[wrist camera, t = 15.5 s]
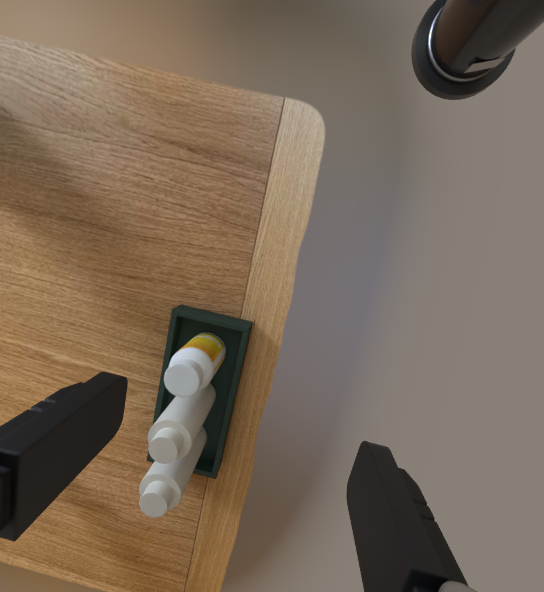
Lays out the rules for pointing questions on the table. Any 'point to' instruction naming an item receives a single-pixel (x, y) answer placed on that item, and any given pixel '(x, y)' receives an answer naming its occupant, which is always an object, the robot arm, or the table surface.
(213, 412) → the tray
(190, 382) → the supplement bottle
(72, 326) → the table surface
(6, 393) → the table surface
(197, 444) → the white bottles
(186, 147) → the table surface
